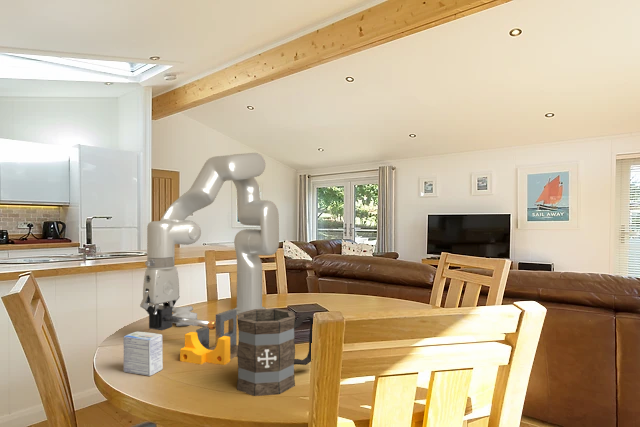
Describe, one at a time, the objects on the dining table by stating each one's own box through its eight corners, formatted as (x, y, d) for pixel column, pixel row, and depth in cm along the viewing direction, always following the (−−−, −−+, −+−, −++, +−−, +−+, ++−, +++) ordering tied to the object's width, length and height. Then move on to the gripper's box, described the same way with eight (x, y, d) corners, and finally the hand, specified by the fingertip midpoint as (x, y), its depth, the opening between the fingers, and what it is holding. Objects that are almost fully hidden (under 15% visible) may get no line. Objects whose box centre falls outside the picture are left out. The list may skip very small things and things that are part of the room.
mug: (249, 402, 81) (249, 326, 81) (226, 378, 92) (226, 312, 92) (331, 380, 91) (331, 314, 91) (301, 362, 103) (301, 303, 103)
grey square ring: (191, 352, 110) (191, 311, 110) (208, 344, 116) (208, 306, 116) (230, 359, 104) (230, 316, 104) (246, 351, 111) (246, 310, 111)
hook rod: (148, 328, 118) (149, 307, 118) (159, 325, 122) (159, 305, 122) (211, 338, 109) (211, 316, 109) (220, 334, 112) (220, 312, 112)
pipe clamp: (180, 361, 103) (180, 336, 103) (191, 356, 107) (191, 331, 107) (220, 368, 99) (220, 341, 99) (230, 362, 103) (230, 336, 103)
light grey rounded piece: (167, 317, 132) (167, 302, 146) (167, 332, 132) (167, 315, 146) (198, 314, 135) (195, 300, 149) (198, 329, 135) (195, 313, 149)
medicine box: (163, 370, 97) (163, 333, 97) (149, 377, 93) (150, 339, 93) (137, 365, 100) (137, 330, 100) (122, 372, 96) (123, 335, 96)
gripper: (147, 267, 110) (147, 335, 110) (190, 260, 125) (190, 320, 125) (127, 265, 113) (127, 331, 113) (172, 259, 128) (172, 317, 128)
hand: (160, 324), depth 119 cm, fingers closed on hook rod, 4 cm apart
